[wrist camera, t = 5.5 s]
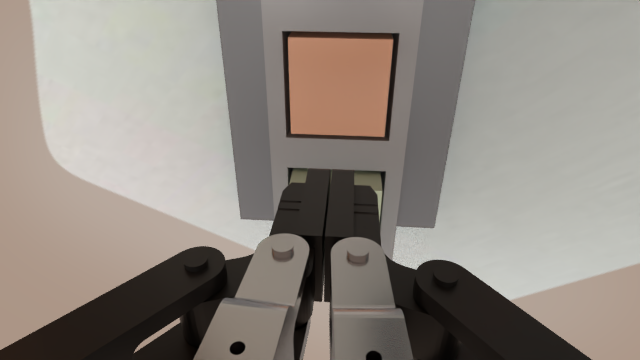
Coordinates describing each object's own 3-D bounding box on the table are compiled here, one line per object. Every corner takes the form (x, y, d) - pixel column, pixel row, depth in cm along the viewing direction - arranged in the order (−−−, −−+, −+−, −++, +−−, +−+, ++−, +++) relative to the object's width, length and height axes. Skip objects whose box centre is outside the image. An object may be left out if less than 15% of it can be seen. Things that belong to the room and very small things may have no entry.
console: (494, -171, 21) (539, -206, 16) (430, 213, 33) (443, 263, 28) (208, -169, 22) (164, -200, 17) (246, 204, 34) (227, 252, 29)
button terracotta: (389, 28, 24) (393, 39, 21) (381, 117, 26) (384, 136, 24) (295, 26, 24) (287, 37, 21) (297, 114, 27) (290, 133, 24)
